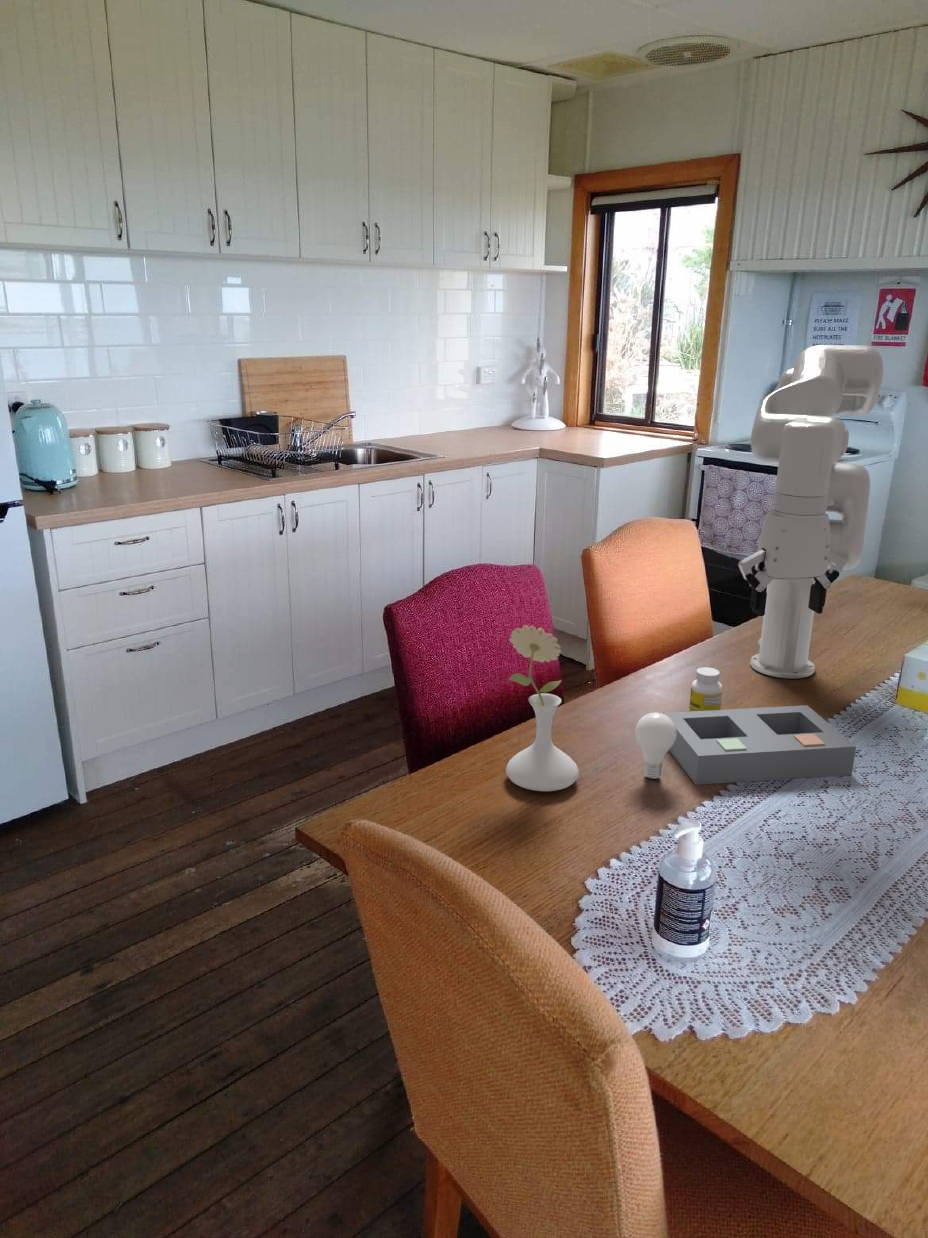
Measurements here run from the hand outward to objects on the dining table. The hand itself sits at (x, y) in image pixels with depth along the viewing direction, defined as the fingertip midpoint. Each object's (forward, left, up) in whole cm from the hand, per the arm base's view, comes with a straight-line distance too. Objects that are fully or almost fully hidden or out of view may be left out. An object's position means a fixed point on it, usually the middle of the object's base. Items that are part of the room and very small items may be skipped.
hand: (786, 612), depth 145 cm
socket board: (0, -3, -25) cm, 25 cm away
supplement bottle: (-14, -6, -25) cm, 30 cm away
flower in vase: (+3, -40, -25) cm, 47 cm away
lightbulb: (+5, -22, -25) cm, 34 cm away
